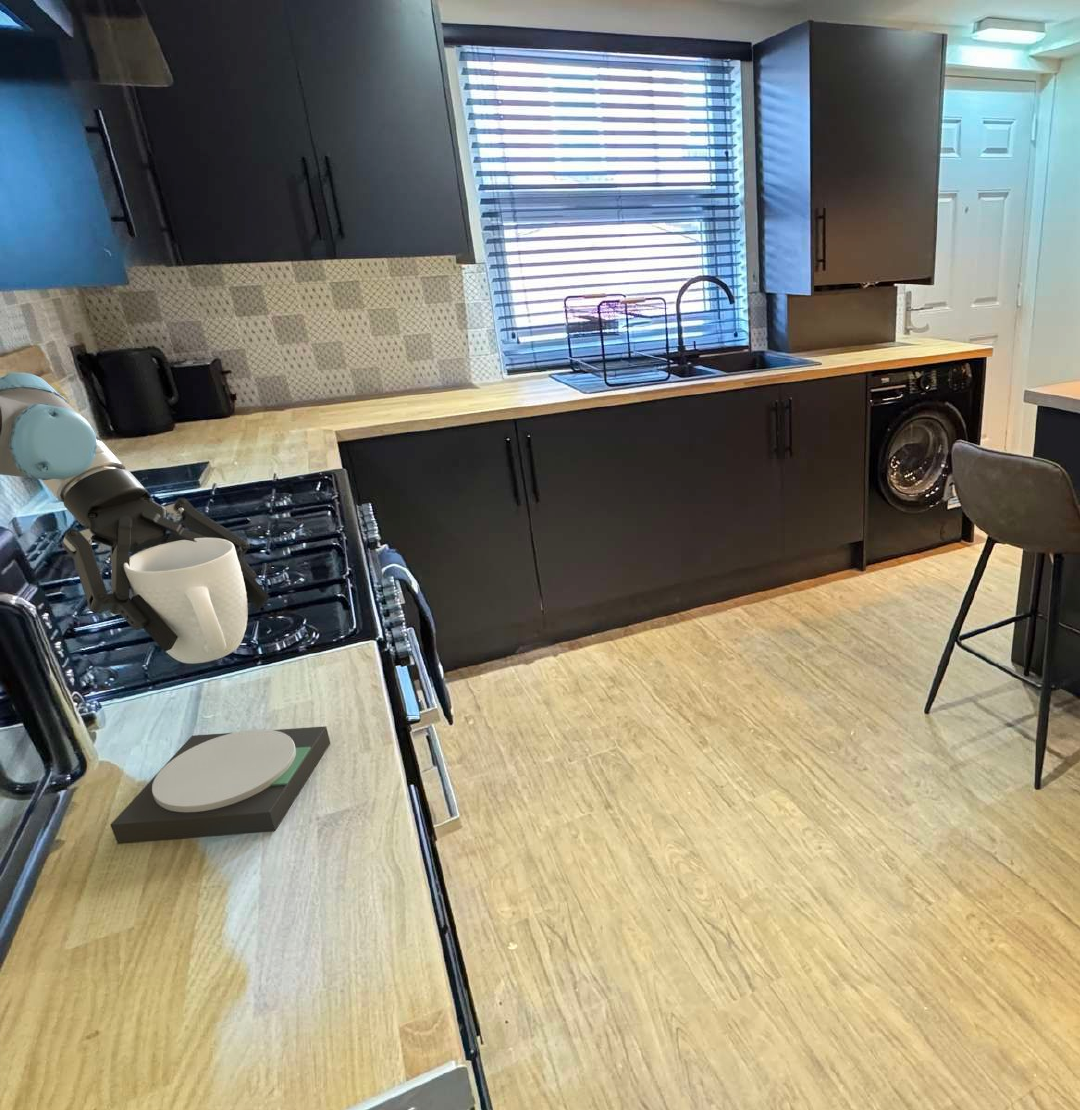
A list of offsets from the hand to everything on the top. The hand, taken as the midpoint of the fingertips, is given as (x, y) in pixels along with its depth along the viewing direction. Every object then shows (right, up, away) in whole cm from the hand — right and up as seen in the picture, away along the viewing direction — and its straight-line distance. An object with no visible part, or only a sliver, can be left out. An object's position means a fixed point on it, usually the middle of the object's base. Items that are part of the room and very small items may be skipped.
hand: (220, 622), depth 94 cm
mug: (-3, -4, +2) cm, 6 cm away
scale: (+7, -18, -8) cm, 21 cm away
